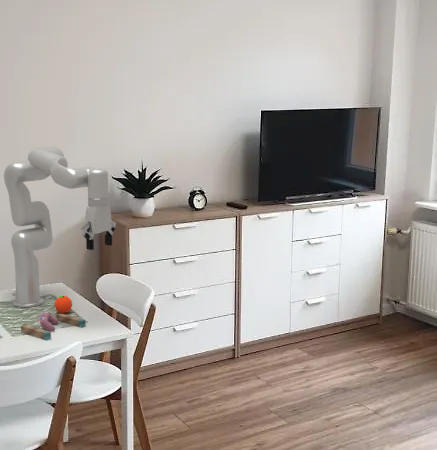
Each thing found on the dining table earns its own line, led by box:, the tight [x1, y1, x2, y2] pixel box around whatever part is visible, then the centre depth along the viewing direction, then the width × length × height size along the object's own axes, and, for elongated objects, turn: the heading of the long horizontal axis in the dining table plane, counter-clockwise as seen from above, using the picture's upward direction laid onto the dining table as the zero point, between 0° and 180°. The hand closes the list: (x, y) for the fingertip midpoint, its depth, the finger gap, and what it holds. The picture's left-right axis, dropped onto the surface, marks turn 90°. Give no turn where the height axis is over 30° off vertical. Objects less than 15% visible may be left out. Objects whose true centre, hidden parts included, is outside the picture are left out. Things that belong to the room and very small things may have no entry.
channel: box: [20, 312, 87, 341], centre depth 257 cm, size 14×19×2 cm
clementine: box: [53, 295, 73, 314], centre depth 276 cm, size 8×7×7 cm
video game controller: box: [38, 311, 59, 332], centre depth 258 cm, size 10×5×7 cm, turn 5°
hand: (99, 247), depth 258 cm, fingers open, 9 cm apart
